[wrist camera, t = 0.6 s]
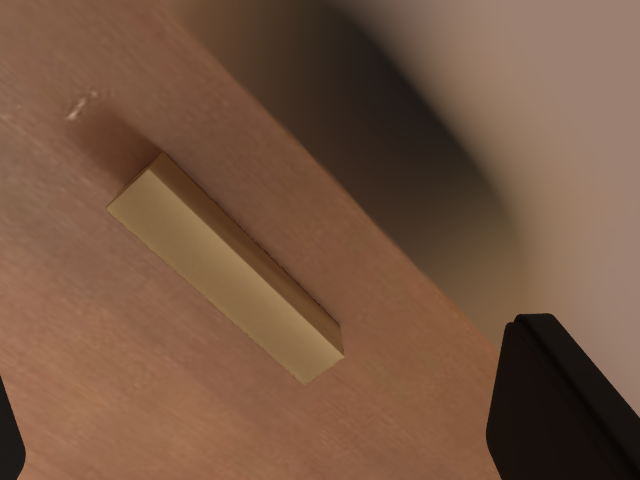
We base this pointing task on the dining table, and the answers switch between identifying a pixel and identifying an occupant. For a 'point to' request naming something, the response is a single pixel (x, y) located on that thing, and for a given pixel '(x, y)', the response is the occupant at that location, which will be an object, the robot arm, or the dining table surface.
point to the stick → (228, 268)
